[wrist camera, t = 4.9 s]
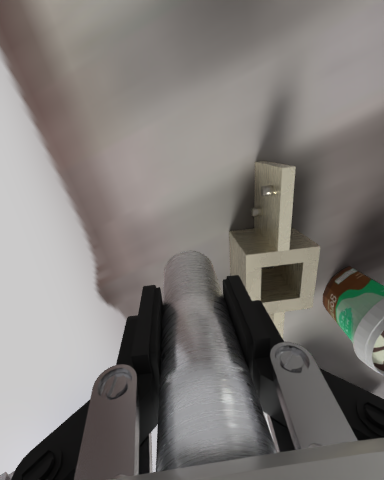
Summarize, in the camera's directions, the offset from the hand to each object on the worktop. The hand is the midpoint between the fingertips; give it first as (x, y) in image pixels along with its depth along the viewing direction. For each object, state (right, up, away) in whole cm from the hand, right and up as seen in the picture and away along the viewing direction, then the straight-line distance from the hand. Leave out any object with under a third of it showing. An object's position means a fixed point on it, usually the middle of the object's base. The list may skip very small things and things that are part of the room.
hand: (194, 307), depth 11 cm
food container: (+21, -6, +25) cm, 33 cm away
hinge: (+9, +1, +20) cm, 22 cm away
